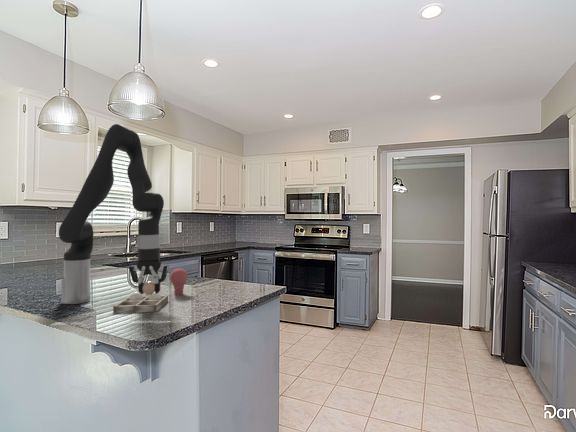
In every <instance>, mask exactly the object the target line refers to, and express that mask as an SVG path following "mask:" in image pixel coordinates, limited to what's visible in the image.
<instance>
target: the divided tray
mask: <svg viewBox="0 0 576 432" xmlns="http://www.w3.org/2000/svg"><path fill="white" fill-rule="evenodd" d="M148 296H149V295H143V300H136V301H130V300H129V298H130V295H129V296H128V297H126V298H124V299H123V300H121V301H120V302H118V303H116V304H115V305H113V307H112V308H113V309H112V311H113V314H115V313H118V314H120V313H123V314H124V313H150V312H151V313H156V312H157V311H159V310H160V309H161V308H162V307H163V306H164V305H166V304H167V303H168V301H169V295H161V300H148Z"/></svg>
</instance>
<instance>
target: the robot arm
mask: <svg viewBox="0 0 576 432" xmlns="http://www.w3.org/2000/svg"><path fill="white" fill-rule="evenodd" d="M139 136H140V135H138V133H137V132H136V131H134V130H132V129H130V128H129V127H126V126H124V125H122V124H119V123H115V124H112V125H111V126H110V127H109V129H108V130H107V132H106V134H105V136H104V138H103V141H102V143H101V146H100V150H99V153H98V154H97V156H96V159H95V162H94V164H93V166H92V168H91V170H90V172H89V173H88V175H87V178H86V179H85V180H84V183H83V185H82V188H81V189H80V192H79V193H78V196H77V197H76V199H75V201H74V203H73V205H72V206H71V209H70V210H69V212H68V213H67V214H66V216H65V218H64V219H63V220H62V222H61V224H60V226H59V228H58V237H59V239H60V240H61V242H64V243H65V244H70V247H69V249H68V250H66V251H65V252H64V253H63V278H62V279H61V282H60V283H61V285H60V286H61V291H60V292H61V302H60V303H61V304H65V305H77V304H85V303H87V302H89V301H91V300H92V299H91V294H92V293H91V287H92V286H91V281H92V279H91V254H92V252H93V247H94V229H93V225H92V224H91V222H90V221H88V218H89V216H90V214H91V213H92V212H93V211H94V210H95V209H96V208H97V207H99V206H100V205H101V204H102V203H103V202H104V200H106V198H107V197H108V195H109V193H110V191H111V189H112V187H113V185H114V181H115V180H114V179H115V177H114V170H113V159H114V157H115V154H116V152H117V150H119V151H122V152H124V153H126V155H127V157H128V158H129V163H128V165H127V166H128V167H127V169H126V170H127V172H126V173H127V177H128V180H129V183H130V185H131V188H132V189H131V191H132V207H133V208H134V210H136V211H137V212H139V213H142V212H143V213H145V212H146V213H148V212H149V215H148V217H144V218H141V219H139V220H138V223H137V224H138V237H137V264H136V265H130V266H129V267H128V269H129V273H130V276H131V280H132V283H137V285H138V290H137V292H140V294H142V295H143V294H145V293H144V292H143V290H142V287H143V285H144V283H145V279H146V276H147V275H150V276H152V278H153V280H154V283H155V294H157V293H160V291H161V283H162V282H164V281H165V280H166V279H167V275H168V272H169V266H170V265H169V264H162V262H161V240H160V220H161V216H162V213H163V209H164V206H165V202H164V201H165V200H164V198H163V196H162V195H161V194H160V193H158V192H149V191H151V189H152V187H153V182H152V180H151V178H150V176H149V173H148V171H147V167H146V165H145V160H144V155H143V147H142V143H141V140H140V137H139ZM160 269H161V271H162V272H161V275H160V273H159V270H160ZM137 270H139V273H140V274H139V276H138V273H137Z"/></svg>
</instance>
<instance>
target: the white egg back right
mask: <svg viewBox="0 0 576 432" xmlns="http://www.w3.org/2000/svg"><path fill="white" fill-rule="evenodd" d="M147 296H148V300H161V296H162V294H161V293H160V292H159V293H157V294H155V292H154V293H153V294H152V295H147Z"/></svg>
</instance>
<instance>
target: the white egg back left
mask: <svg viewBox="0 0 576 432" xmlns="http://www.w3.org/2000/svg"><path fill="white" fill-rule="evenodd" d="M129 296H130V298H129V300H130V301H136V300H143V296H144V295H143V294H140V292H139V291H133V292H131V294H130V295H129Z"/></svg>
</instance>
